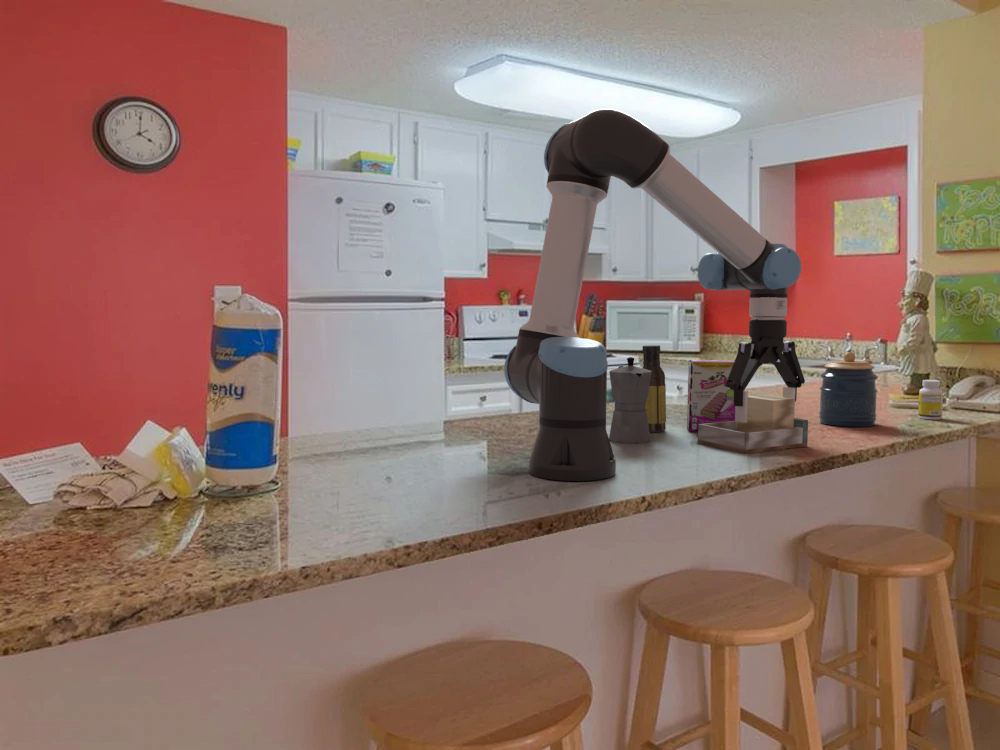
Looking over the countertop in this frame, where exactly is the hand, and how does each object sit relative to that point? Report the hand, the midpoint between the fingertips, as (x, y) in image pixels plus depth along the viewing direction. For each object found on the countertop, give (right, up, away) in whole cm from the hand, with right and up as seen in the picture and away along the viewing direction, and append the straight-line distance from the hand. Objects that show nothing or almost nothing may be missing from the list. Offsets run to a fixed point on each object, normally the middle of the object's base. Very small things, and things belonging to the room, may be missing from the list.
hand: (765, 419), depth 172 cm
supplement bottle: (+54, -2, +37) cm, 65 cm away
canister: (+29, -3, +28) cm, 41 cm away
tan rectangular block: (0, -4, 0) cm, 4 cm away
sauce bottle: (-21, -4, +18) cm, 27 cm away
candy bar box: (-7, -4, +17) cm, 19 cm away
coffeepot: (-28, -5, +6) cm, 29 cm away
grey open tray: (-3, -5, -1) cm, 6 cm away
